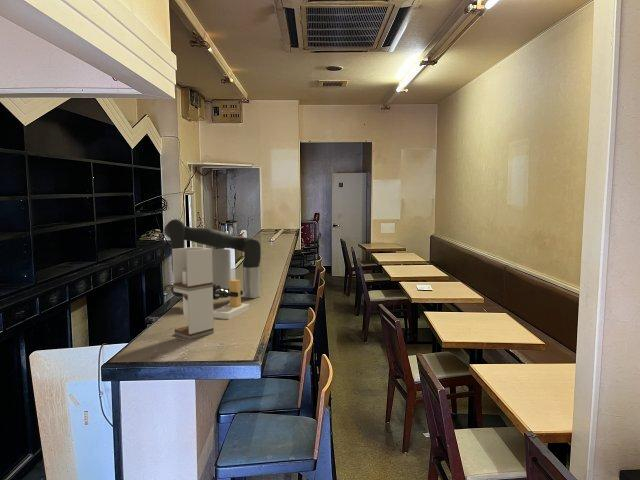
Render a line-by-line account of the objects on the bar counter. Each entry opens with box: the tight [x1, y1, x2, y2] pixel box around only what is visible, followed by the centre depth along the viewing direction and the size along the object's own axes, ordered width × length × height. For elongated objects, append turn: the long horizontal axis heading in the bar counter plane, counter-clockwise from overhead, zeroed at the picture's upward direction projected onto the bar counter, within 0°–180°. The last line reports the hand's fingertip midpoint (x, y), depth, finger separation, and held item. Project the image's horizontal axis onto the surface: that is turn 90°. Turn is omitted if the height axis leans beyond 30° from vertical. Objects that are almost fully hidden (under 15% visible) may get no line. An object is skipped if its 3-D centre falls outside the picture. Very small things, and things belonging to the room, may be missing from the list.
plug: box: [229, 278, 242, 307], centre depth 223 cm, size 4×4×15 cm
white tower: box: [171, 246, 215, 340], centre depth 185 cm, size 11×11×35 cm
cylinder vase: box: [212, 248, 232, 289], centre depth 268 cm, size 12×12×25 cm
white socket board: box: [213, 302, 250, 320], centre depth 218 cm, size 20×10×3 cm, turn 162°
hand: (240, 293), depth 222 cm, fingers closed on plug, 4 cm apart
